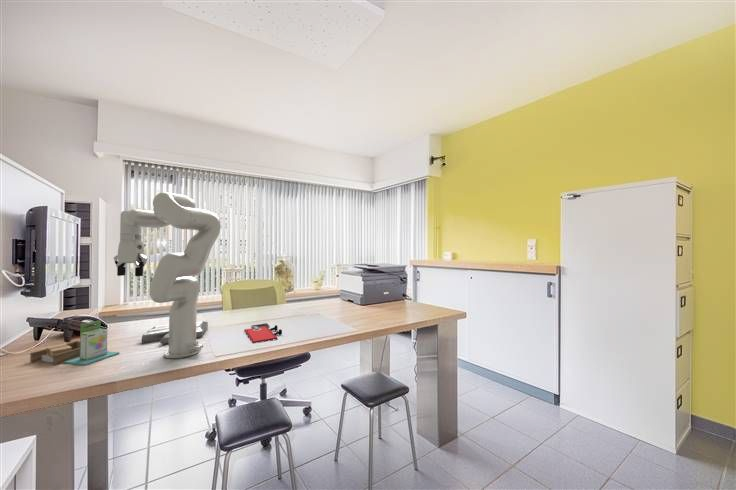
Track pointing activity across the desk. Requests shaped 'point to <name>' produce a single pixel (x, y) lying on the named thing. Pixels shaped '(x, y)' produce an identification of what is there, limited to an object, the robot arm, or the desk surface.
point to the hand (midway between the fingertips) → (130, 275)
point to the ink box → (92, 341)
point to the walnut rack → (58, 357)
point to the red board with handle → (262, 333)
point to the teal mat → (87, 362)
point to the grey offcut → (47, 358)
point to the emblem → (163, 333)
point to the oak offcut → (57, 349)
